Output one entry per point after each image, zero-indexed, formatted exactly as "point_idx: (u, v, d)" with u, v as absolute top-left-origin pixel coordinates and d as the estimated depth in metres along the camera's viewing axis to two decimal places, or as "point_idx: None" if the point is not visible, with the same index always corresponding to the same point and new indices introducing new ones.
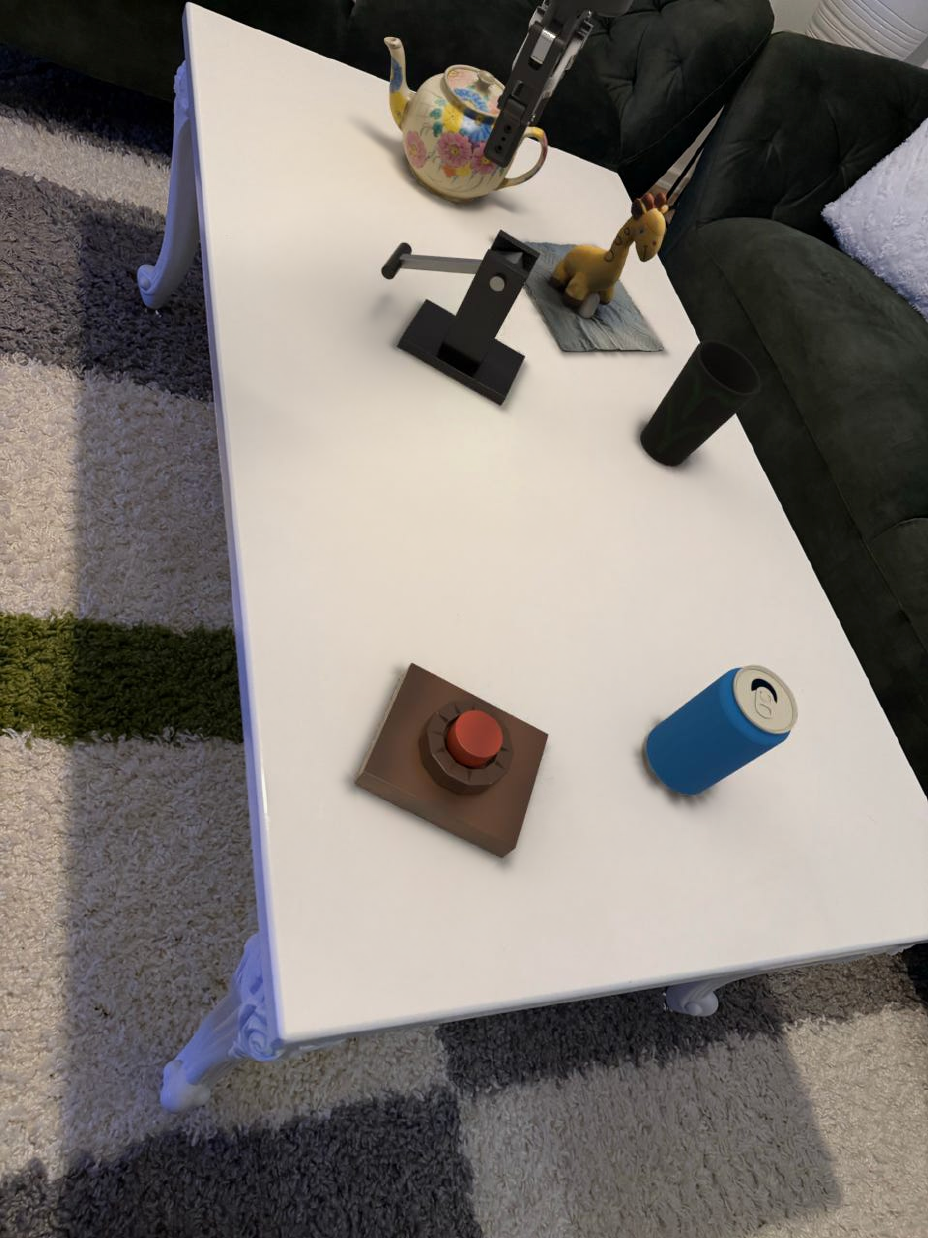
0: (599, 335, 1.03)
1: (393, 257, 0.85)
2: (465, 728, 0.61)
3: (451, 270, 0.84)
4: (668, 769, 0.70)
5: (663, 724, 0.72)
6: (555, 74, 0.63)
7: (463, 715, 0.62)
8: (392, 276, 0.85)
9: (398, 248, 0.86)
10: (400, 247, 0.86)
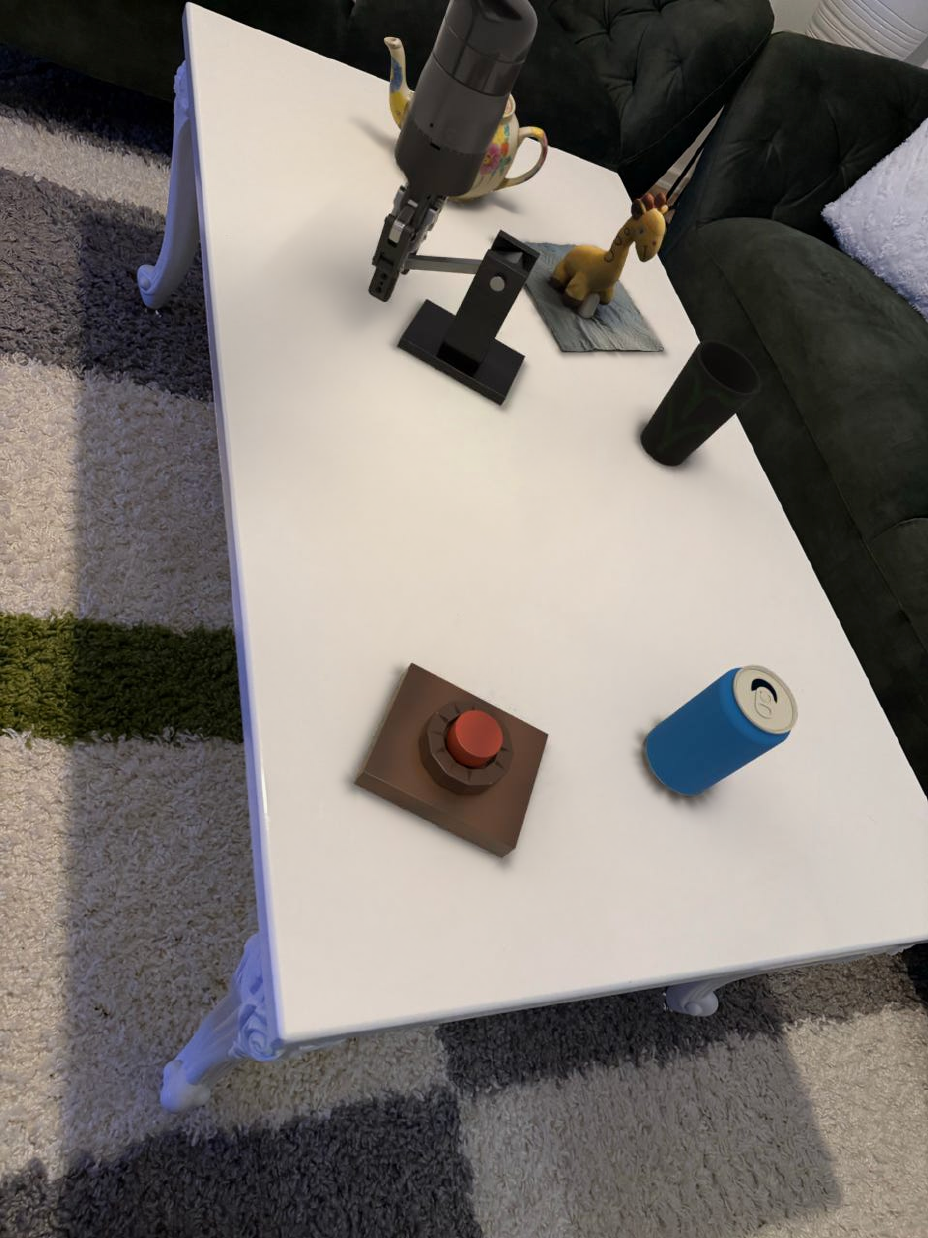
0: (599, 335, 1.03)
1: None
2: (465, 728, 0.61)
3: (451, 270, 0.84)
4: (668, 769, 0.70)
5: (663, 724, 0.72)
6: (416, 239, 0.81)
7: (463, 715, 0.62)
8: None
9: None
10: None
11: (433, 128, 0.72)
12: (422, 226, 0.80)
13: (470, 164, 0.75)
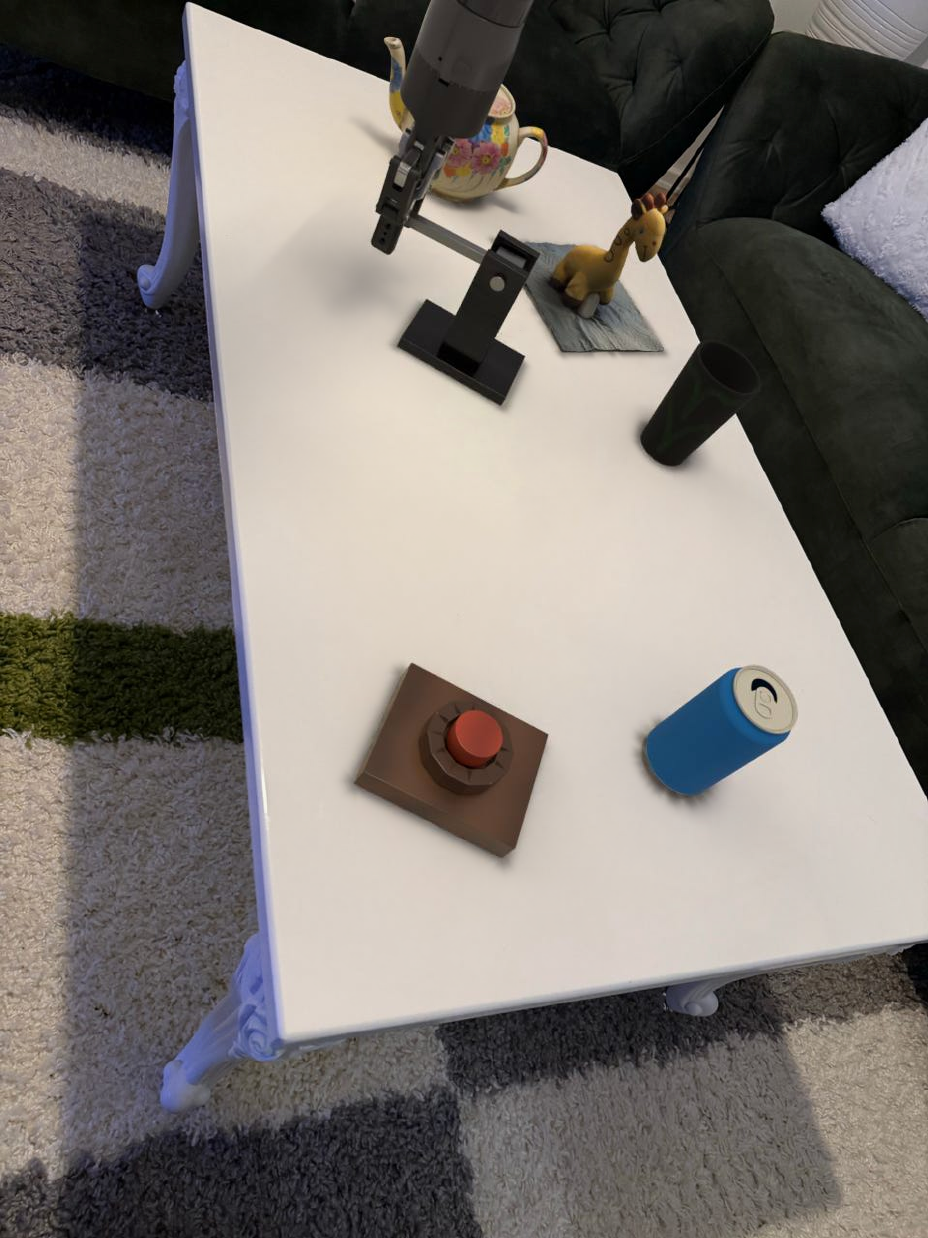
0: (599, 335, 1.03)
1: None
2: (465, 728, 0.61)
3: (453, 248, 0.83)
4: (668, 769, 0.70)
5: (663, 724, 0.72)
6: (422, 185, 0.77)
7: (463, 715, 0.62)
8: None
9: None
10: None
11: (442, 62, 0.69)
12: (428, 171, 0.76)
13: (480, 103, 0.71)
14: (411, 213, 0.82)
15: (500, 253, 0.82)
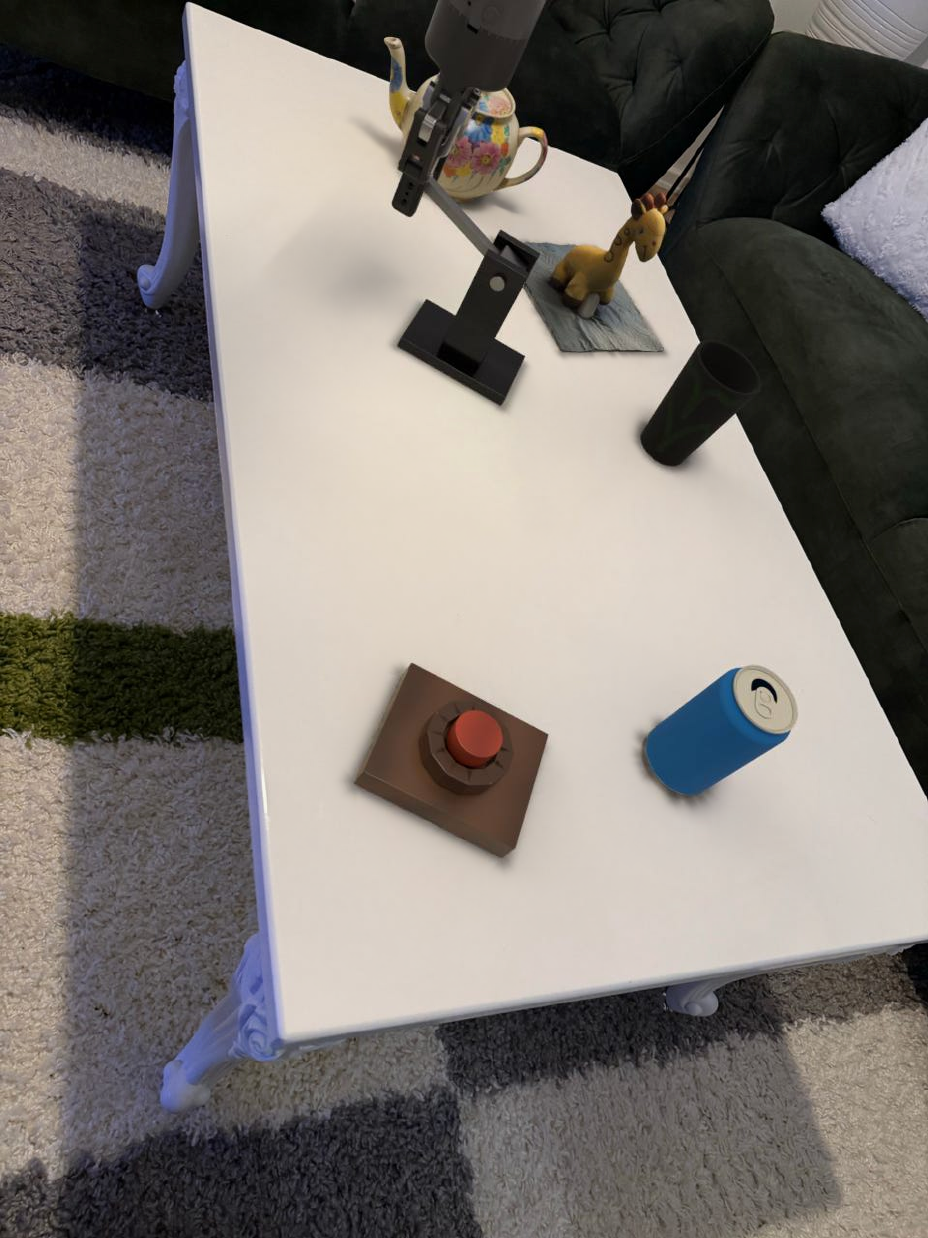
0: (599, 335, 1.03)
1: None
2: (465, 728, 0.61)
3: (462, 230, 0.81)
4: (668, 769, 0.70)
5: (663, 724, 0.72)
6: (446, 142, 0.74)
7: (463, 715, 0.62)
8: None
9: None
10: None
11: (471, 7, 0.65)
12: (454, 127, 0.73)
13: (510, 52, 0.68)
14: (432, 180, 0.79)
15: (506, 253, 0.82)
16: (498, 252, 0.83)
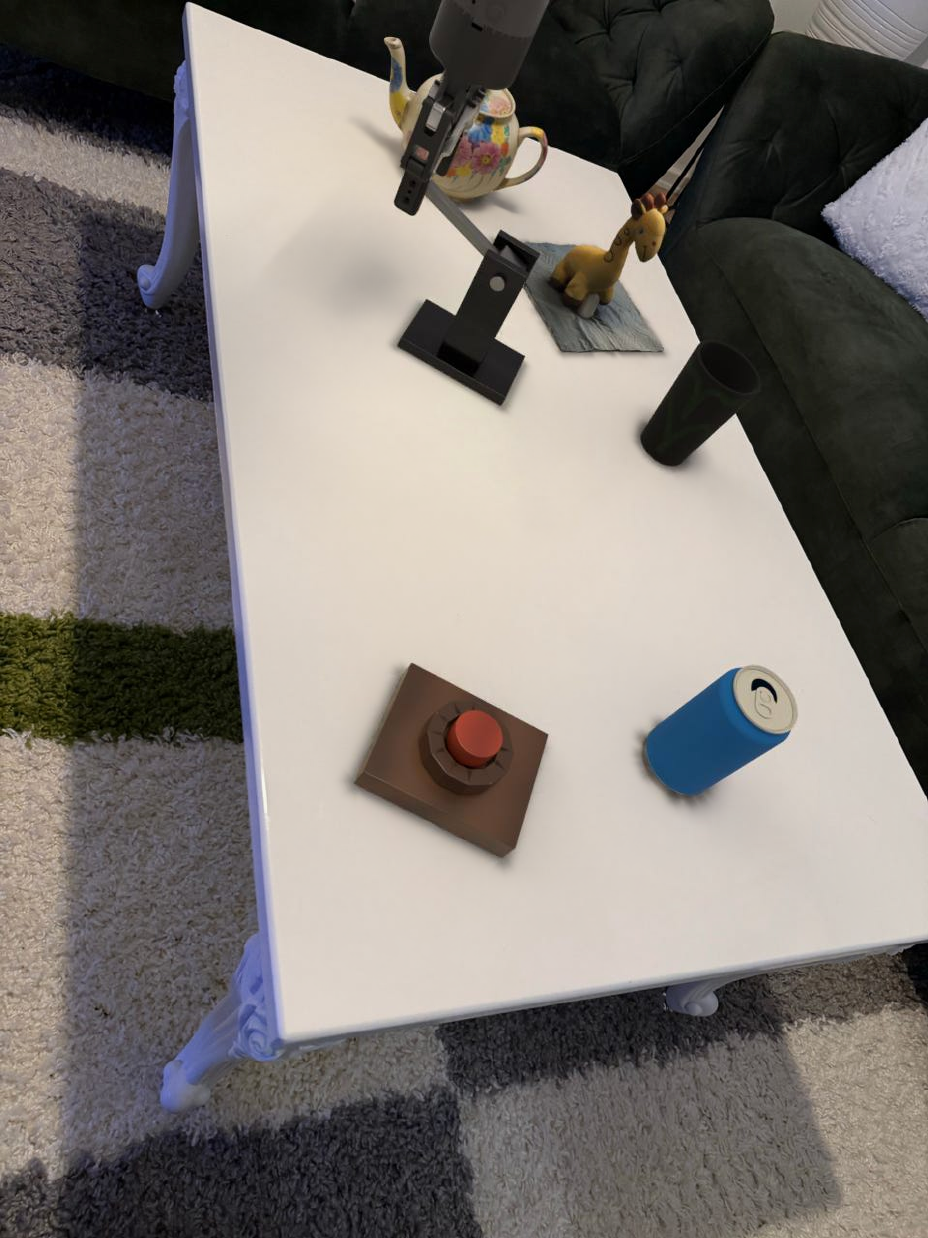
0: (598, 335, 1.03)
1: None
2: (465, 728, 0.61)
3: (462, 231, 0.81)
4: (668, 769, 0.70)
5: (663, 724, 0.72)
6: (451, 137, 0.73)
7: (463, 715, 0.62)
8: None
9: None
10: None
11: (475, 5, 0.65)
12: (459, 123, 0.72)
13: (514, 50, 0.68)
14: (431, 182, 0.80)
15: (506, 253, 0.82)
16: (498, 252, 0.83)
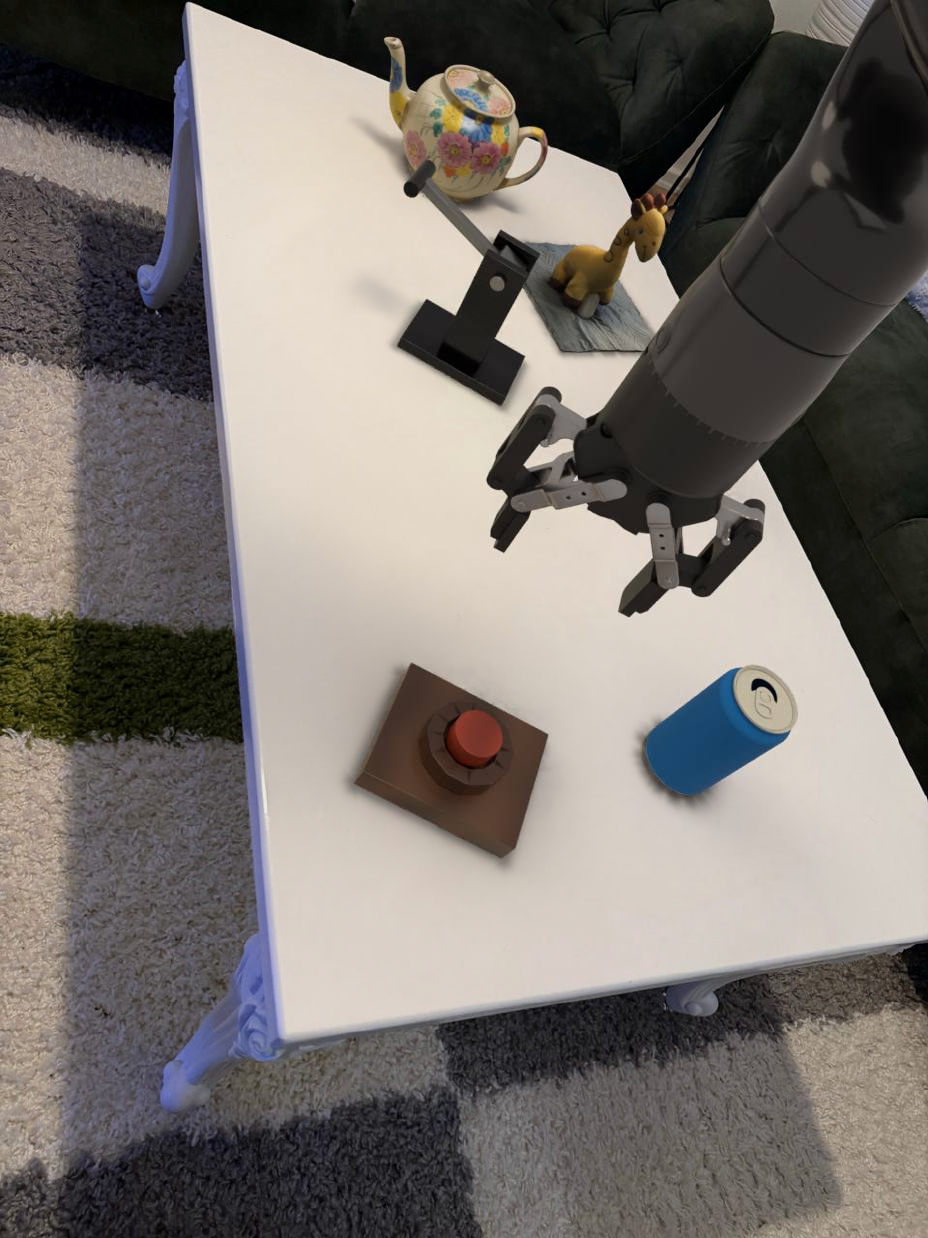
0: (598, 335, 1.03)
1: (422, 176, 0.79)
2: (465, 728, 0.61)
3: (462, 231, 0.81)
4: (669, 769, 0.70)
5: (663, 724, 0.72)
6: (564, 484, 0.47)
7: (463, 715, 0.62)
8: (411, 196, 0.78)
9: (427, 167, 0.80)
10: (429, 167, 0.80)
11: None
12: (586, 479, 0.46)
13: (661, 412, 0.40)
14: (431, 182, 0.80)
15: (506, 253, 0.82)
16: (498, 252, 0.83)
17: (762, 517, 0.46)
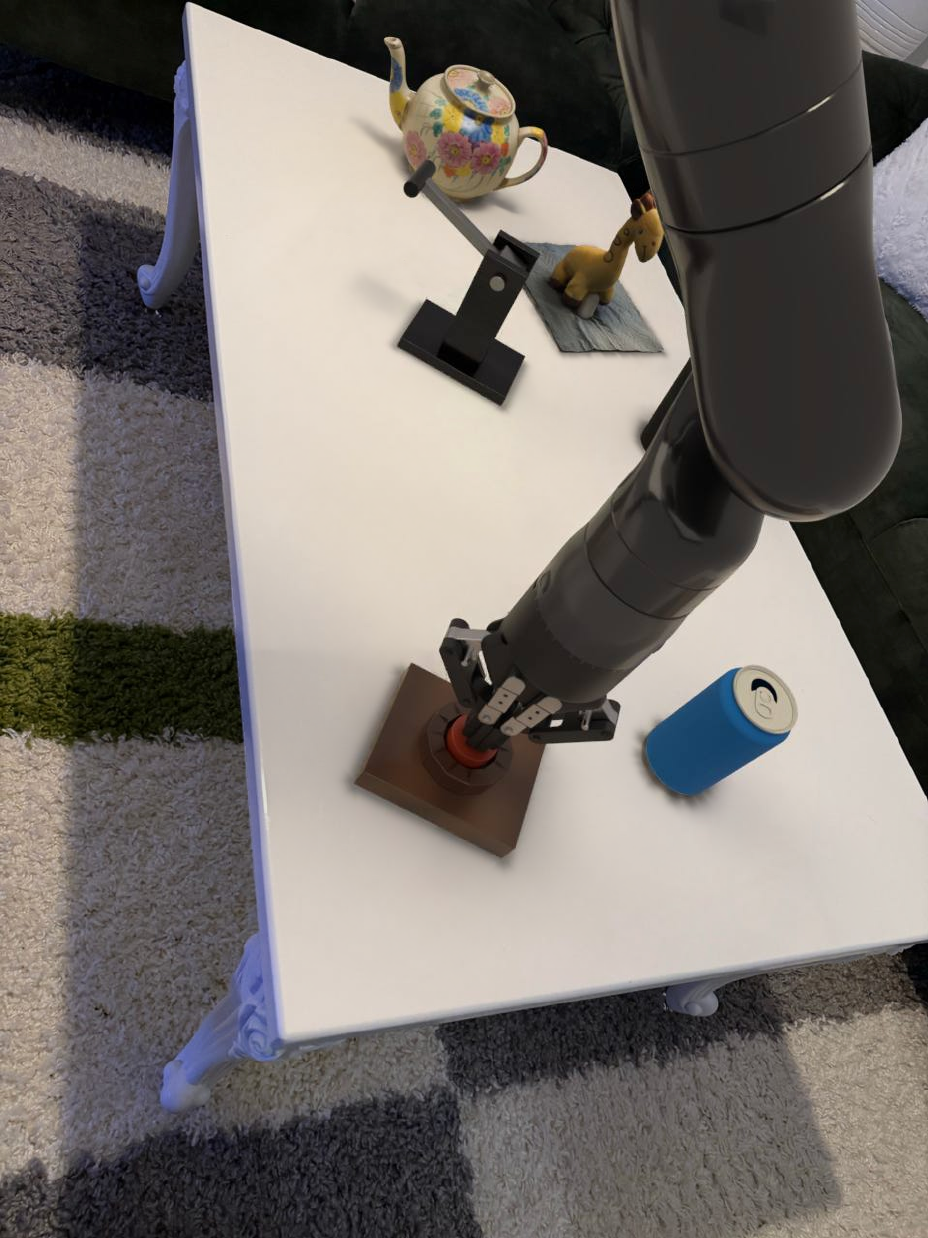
0: (598, 335, 1.03)
1: (422, 176, 0.79)
2: None
3: (462, 231, 0.81)
4: (668, 769, 0.70)
5: (663, 724, 0.72)
6: (493, 694, 0.55)
7: (460, 719, 0.62)
8: (411, 196, 0.78)
9: (427, 167, 0.80)
10: (429, 167, 0.80)
11: None
12: (500, 684, 0.54)
13: (543, 642, 0.48)
14: (431, 182, 0.80)
15: (506, 253, 0.82)
16: (498, 252, 0.83)
17: None
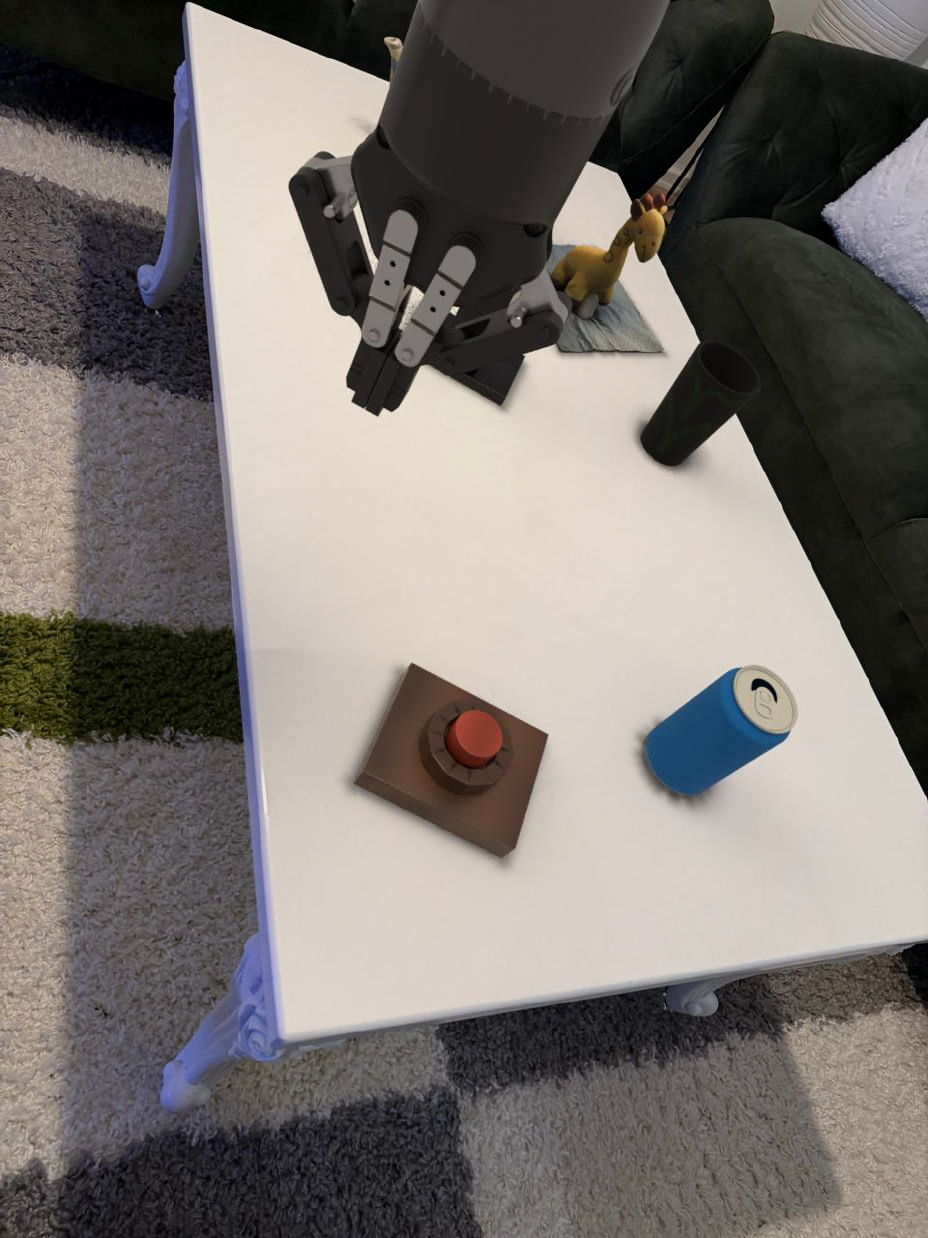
0: (598, 335, 1.03)
1: None
2: (465, 728, 0.61)
3: None
4: (669, 769, 0.70)
5: (663, 724, 0.72)
6: None
7: (463, 715, 0.62)
8: None
9: None
10: None
11: None
12: None
13: (428, 70, 0.29)
14: None
15: None
16: None
17: (565, 320, 0.37)
